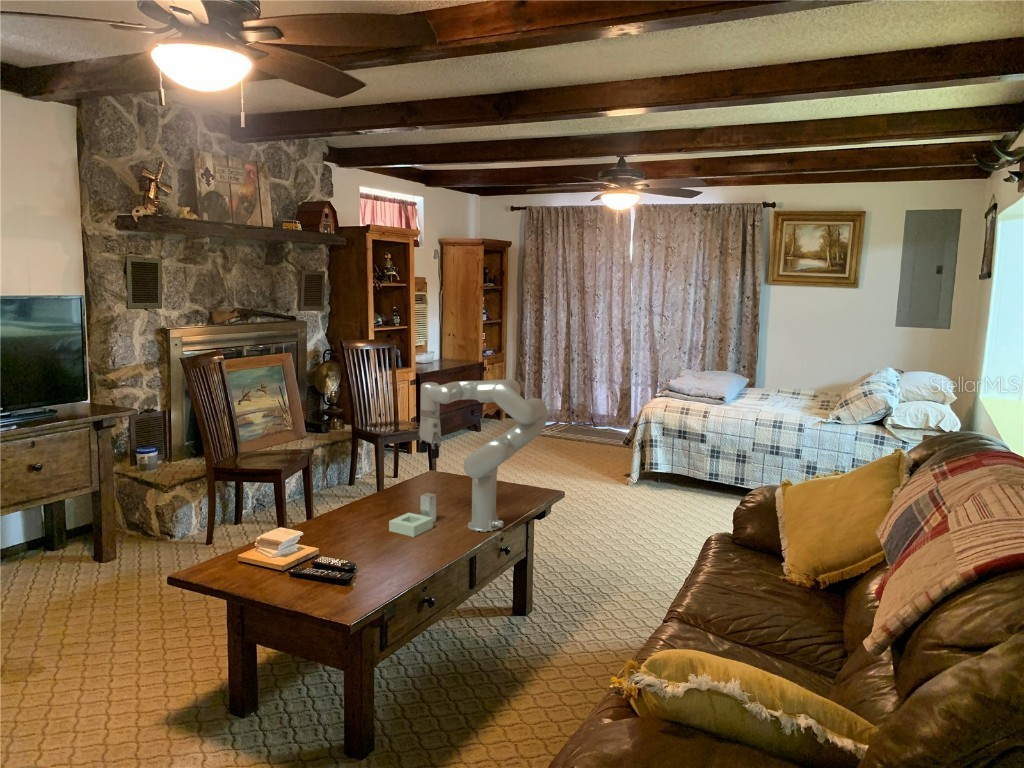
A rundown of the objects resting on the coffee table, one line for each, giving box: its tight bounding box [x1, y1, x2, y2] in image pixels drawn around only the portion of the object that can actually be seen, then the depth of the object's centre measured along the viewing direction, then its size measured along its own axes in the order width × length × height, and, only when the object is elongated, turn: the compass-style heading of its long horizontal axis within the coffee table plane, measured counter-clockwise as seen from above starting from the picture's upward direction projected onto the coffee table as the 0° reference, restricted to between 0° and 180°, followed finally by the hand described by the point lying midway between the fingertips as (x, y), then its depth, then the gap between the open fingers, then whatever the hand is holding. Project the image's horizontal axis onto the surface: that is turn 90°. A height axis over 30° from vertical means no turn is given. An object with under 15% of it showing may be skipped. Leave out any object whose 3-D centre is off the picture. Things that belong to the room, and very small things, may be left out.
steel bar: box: [419, 492, 437, 523], centre depth 288 cm, size 4×4×11 cm
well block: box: [388, 512, 434, 538], centre depth 279 cm, size 12×12×4 cm
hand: (429, 455), depth 288 cm, fingers open, 9 cm apart
